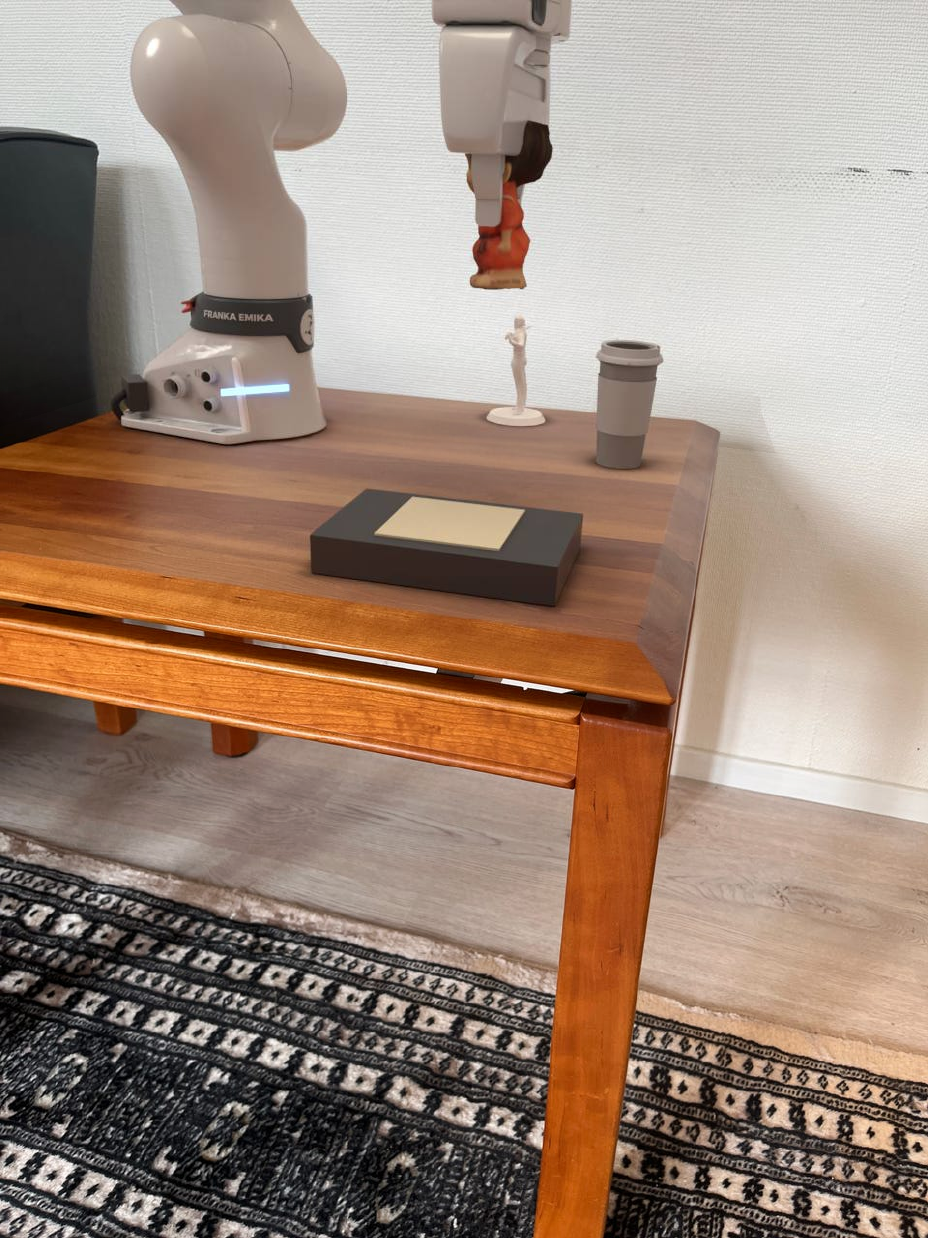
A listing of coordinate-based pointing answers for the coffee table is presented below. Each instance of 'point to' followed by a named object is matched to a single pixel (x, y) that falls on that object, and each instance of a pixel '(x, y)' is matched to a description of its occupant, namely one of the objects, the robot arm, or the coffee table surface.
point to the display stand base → (450, 545)
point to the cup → (625, 400)
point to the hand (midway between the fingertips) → (498, 224)
